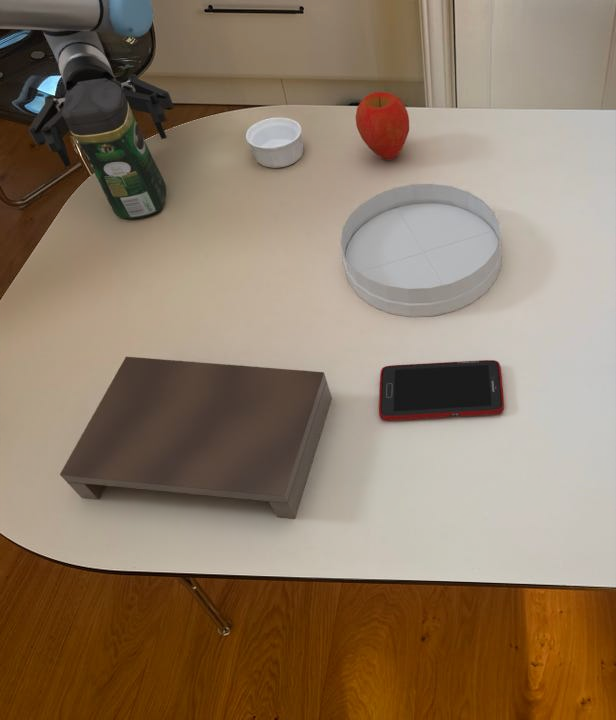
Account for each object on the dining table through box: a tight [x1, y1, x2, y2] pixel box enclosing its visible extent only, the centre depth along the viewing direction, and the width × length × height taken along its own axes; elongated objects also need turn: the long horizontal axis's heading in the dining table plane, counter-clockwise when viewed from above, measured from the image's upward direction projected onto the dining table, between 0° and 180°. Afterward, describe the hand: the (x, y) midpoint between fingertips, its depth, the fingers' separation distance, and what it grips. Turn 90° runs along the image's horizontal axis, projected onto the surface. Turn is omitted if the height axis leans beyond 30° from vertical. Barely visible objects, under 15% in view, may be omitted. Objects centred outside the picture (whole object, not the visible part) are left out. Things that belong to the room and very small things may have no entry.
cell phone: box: [378, 359, 505, 421], centre depth 84 cm, size 8×15×1 cm, turn 93°
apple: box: [355, 91, 410, 161], centre depth 112 cm, size 9×8×11 cm
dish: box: [340, 183, 503, 318], centre depth 98 cm, size 22×22×5 cm
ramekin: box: [245, 117, 304, 169], centre depth 115 cm, size 9×9×4 cm
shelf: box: [59, 356, 333, 519], centre depth 79 cm, size 24×16×5 cm, turn 83°
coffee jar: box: [62, 78, 167, 220], centre depth 102 cm, size 10×8×19 cm
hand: (113, 144), depth 102 cm, fingers open, 13 cm apart
